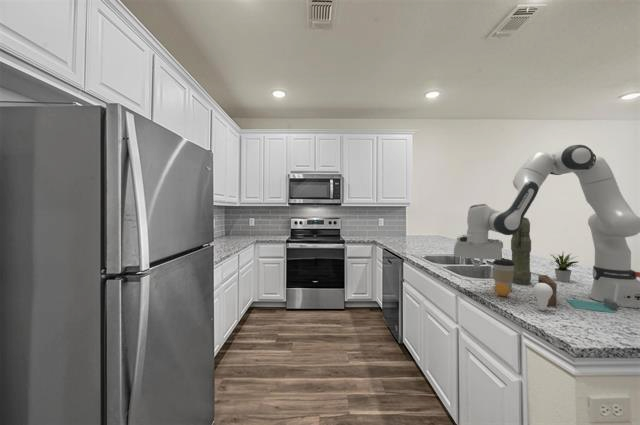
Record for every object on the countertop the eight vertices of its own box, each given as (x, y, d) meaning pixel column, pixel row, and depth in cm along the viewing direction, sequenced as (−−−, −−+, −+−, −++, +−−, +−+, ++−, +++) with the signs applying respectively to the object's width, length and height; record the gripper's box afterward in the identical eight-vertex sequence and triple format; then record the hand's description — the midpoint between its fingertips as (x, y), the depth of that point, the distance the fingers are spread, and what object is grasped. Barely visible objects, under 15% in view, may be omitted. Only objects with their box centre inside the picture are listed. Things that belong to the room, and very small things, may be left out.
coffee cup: (517, 292, 137) (518, 261, 136) (497, 291, 139) (497, 260, 138) (509, 286, 146) (509, 257, 145) (489, 285, 148) (490, 257, 147)
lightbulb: (553, 314, 109) (554, 286, 108) (533, 311, 112) (534, 283, 112) (551, 309, 114) (551, 282, 114) (532, 306, 117) (532, 280, 117)
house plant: (551, 283, 151) (552, 252, 151) (539, 277, 164) (539, 249, 164) (584, 285, 147) (584, 253, 147) (569, 278, 161) (569, 249, 160)
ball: (508, 294, 133) (508, 282, 133) (510, 298, 127) (511, 285, 127) (493, 293, 135) (493, 280, 135) (495, 296, 130) (495, 283, 130)
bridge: (546, 296, 130) (546, 275, 130) (556, 307, 117) (556, 283, 117) (538, 295, 132) (538, 274, 131) (547, 305, 118) (547, 282, 118)
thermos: (532, 282, 154) (533, 217, 153) (528, 286, 146) (529, 218, 145) (513, 279, 160) (513, 217, 159) (508, 283, 152) (508, 217, 151)
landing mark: (601, 303, 121) (601, 302, 121) (615, 313, 110) (615, 312, 110) (565, 299, 126) (565, 298, 126) (575, 308, 115) (575, 307, 115)
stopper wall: (609, 306, 117) (610, 298, 117) (617, 311, 112) (617, 303, 112) (603, 305, 118) (603, 298, 118) (610, 310, 113) (610, 302, 113)
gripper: (502, 239, 134) (501, 268, 134) (454, 236, 143) (453, 264, 143) (504, 240, 128) (503, 271, 128) (453, 237, 137) (453, 266, 137)
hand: (476, 267), depth 136 cm, fingers closed
